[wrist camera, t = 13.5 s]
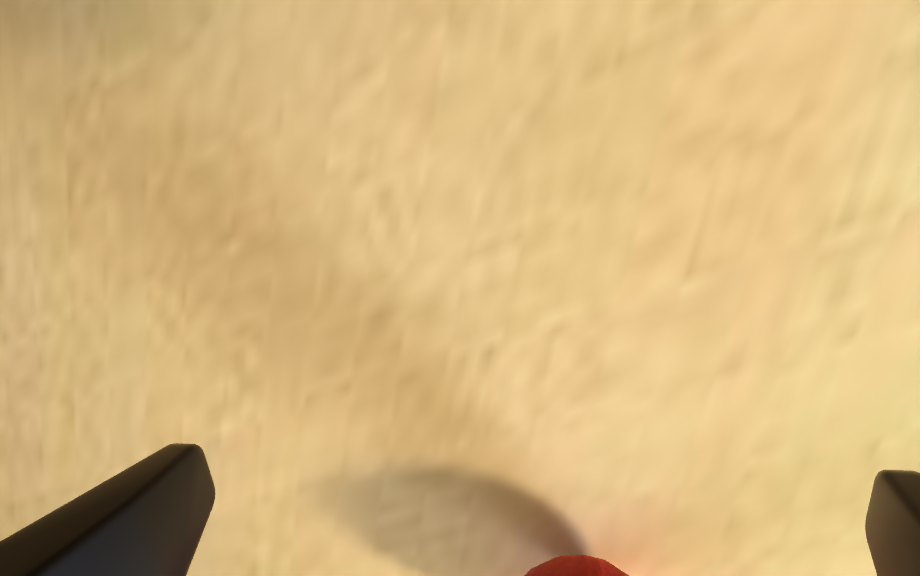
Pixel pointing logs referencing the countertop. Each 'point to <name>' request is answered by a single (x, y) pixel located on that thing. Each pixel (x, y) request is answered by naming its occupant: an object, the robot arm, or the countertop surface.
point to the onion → (576, 567)
